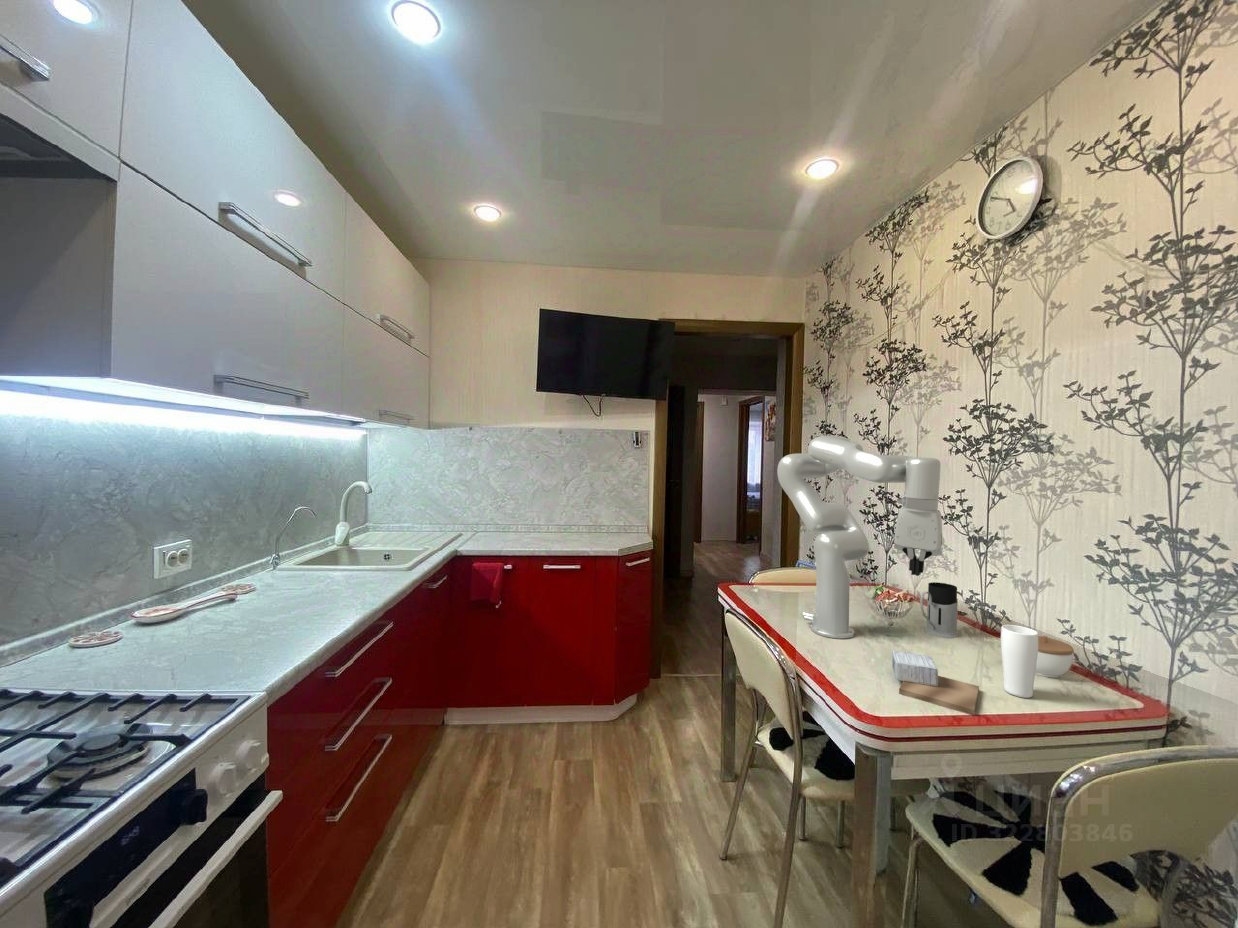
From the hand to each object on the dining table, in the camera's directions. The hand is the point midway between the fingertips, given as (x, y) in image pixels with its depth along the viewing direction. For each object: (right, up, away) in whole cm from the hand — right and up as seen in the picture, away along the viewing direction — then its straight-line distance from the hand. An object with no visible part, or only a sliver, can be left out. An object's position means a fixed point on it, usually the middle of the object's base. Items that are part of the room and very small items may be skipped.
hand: (915, 574), depth 125 cm
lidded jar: (+32, -25, -2) cm, 40 cm away
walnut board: (-3, -25, -13) cm, 28 cm away
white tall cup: (+16, -25, -13) cm, 32 cm away
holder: (+21, -25, +24) cm, 40 cm away
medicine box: (-10, -21, -6) cm, 24 cm away
